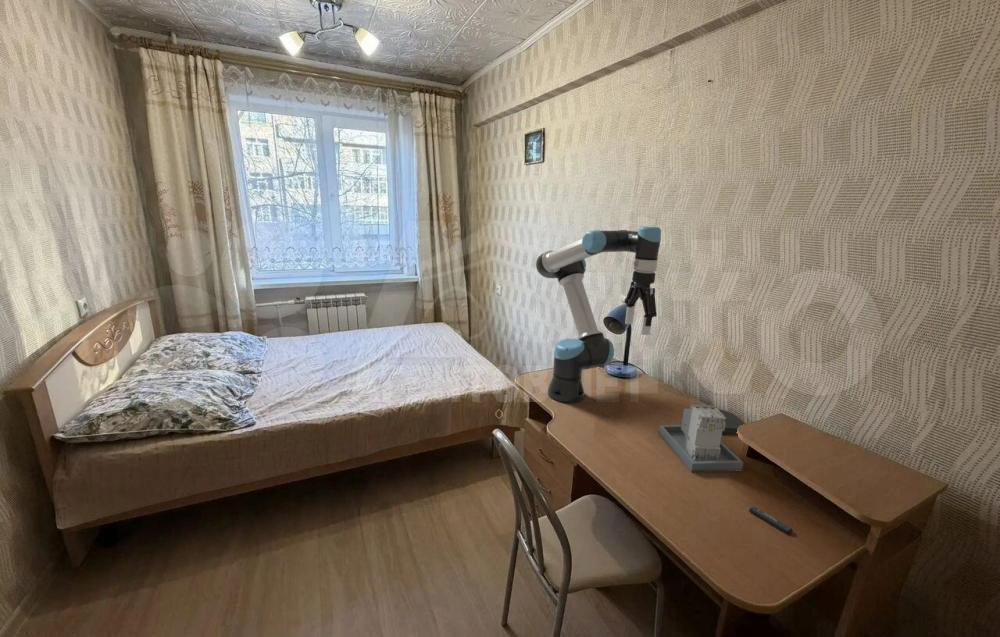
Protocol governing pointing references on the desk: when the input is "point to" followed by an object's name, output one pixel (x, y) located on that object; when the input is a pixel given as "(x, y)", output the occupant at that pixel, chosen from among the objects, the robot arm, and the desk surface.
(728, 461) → the tray
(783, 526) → the usb stick
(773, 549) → the desk surface
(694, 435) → the circuit breaker
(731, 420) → the media streaming box
